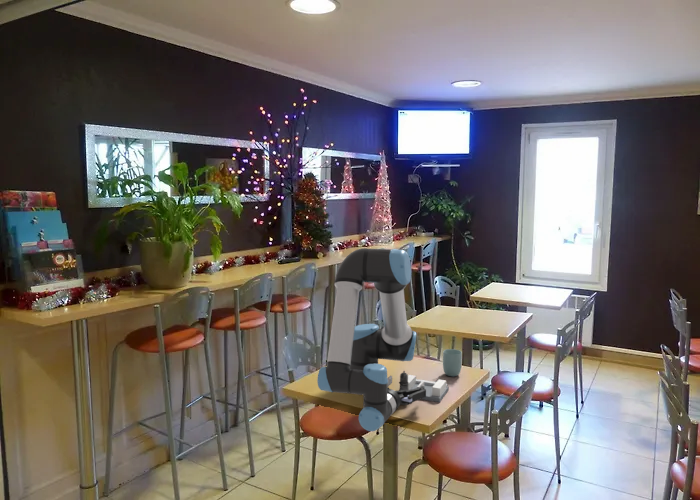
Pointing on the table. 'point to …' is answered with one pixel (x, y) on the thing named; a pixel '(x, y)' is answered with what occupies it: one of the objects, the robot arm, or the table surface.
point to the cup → (452, 362)
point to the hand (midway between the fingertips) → (407, 381)
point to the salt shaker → (404, 384)
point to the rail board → (430, 388)
